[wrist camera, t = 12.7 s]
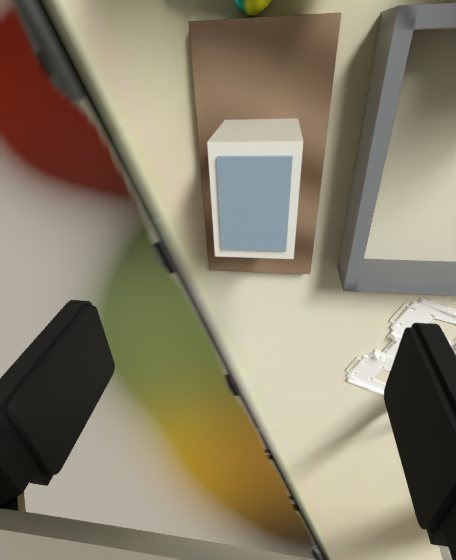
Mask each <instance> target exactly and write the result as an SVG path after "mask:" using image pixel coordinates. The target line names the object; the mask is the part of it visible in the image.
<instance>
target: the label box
mask: <svg viewBox="0 0 456 560" xmlns="http://www.w3.org/2000/svg"><path fill="white" fill-rule="evenodd" d="M207 146H208V161H209V176H210V190H211V205H212V219H213V234H214V249H215V256H216V257H246V258H275V259H294V248H295V236H296V224H297V212H298V200H299V188H300V176H301V164H302V152H303V137H302V133H301V129H300V124H299V120H298V119H244V120H224V122H223V123H222V124H221V125H220V127H219V128H218V129H217V130H216V132H215V133H214V134H213V135H212V137H211V138H210V139H209V141H208V142H207Z"/></svg>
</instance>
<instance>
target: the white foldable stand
mask: <svg viewBox="0 0 456 560" xmlns="http://www.w3.org/2000/svg"><path fill="white" fill-rule="evenodd" d="M404 306H407V307H406V308H405V310H404V311H403V312H402V313H401V314H400V315H399V316H398V317H397V318H396V320H395V321H392V320H393V319H394V318H395V316H396V315H397V314H398V313H399V312H400V311H401V310H402V309H403V307H404ZM411 308H413V309H411ZM429 315H433V316H429ZM434 318H435V319H438V320H442V321H446V322H449V323H453V324H456V311H455V310H453V309H450V308H448V307H446V306H443V305H440V304H438V303H435V302H432V301H430V300H427V299H425V298H420V299H419V300H418V301H412V302H411V303H410V304H409V305H407V304H404V305H403V306H402V307H401V308H400V309H399V310H398V311H397V312H396V313H395V315H394V316H393V317H392V318H391V319H390V320H389V321H390V322H391V323H392V324H391V325H390V328H391V329H392V330H391V331H390V333H389V334H388V335H387V338H389V339H392V340H393V341H392V342H391V343H390V344H389V345H388V346H387V347H386V348H385V349H384V350H383V351H379V350H377V349H374V350H373V351H372V353H370V354H369V355H363V356H362V357H361V358H358V357H357V358H356V359H355V360H354V361H353V362H352V363H351V364H350V365H349V366H348V368H347V369H346V372H348V373H347V374H346V375H347V377H348V378H347V381H348V382H349V383H352V384H355V385H357V386H360V387H363V388H366V389H368V390H370V391H372V392H375V393H378V394H381V395H384V389H385V385H386V384H385V383H383V382H380V381H378V380H376V379H374V378H375V377H376V376H377V375H378V374H379V373H380V372H381V371H382V370H383V369H384V370H388V371H391V368H392V365H393V362H394V359H395V356H396V353H397V350H398V347H399V344H400V341H401V338H402V335H403V332H404V330H405V328H406V327H411V326H412V324H413V323H430V322H431V321H432V320H433V319H434ZM397 323H400V324H397ZM448 342H449V341H448ZM449 344H450V346H451V347H452V349H453V351H454V353H455V355H456V346H455V344H456V339H455V340H454V341H452V342H449ZM390 345H391V346H390ZM389 346H390V347H389ZM388 347H389V348H388ZM387 348H388V349H387ZM385 350H386V351H385ZM384 351H385V352H384ZM357 359H359V361H358V362H357V363H356V364H355V365H354V366H353V367H352V368H351V370H350V371H348V369H349V368H350V367H351V366H352V365H353V363H354V362H355V361H356V360H357ZM380 366H381V367H382V368H381V367H380ZM353 372H354V373H353ZM370 378H371V379H370ZM439 548H440V552H441V555H442V558H443V560H452V557H451V554H450V551H449V548H448V547H446V546H440V545H439Z"/></svg>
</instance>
